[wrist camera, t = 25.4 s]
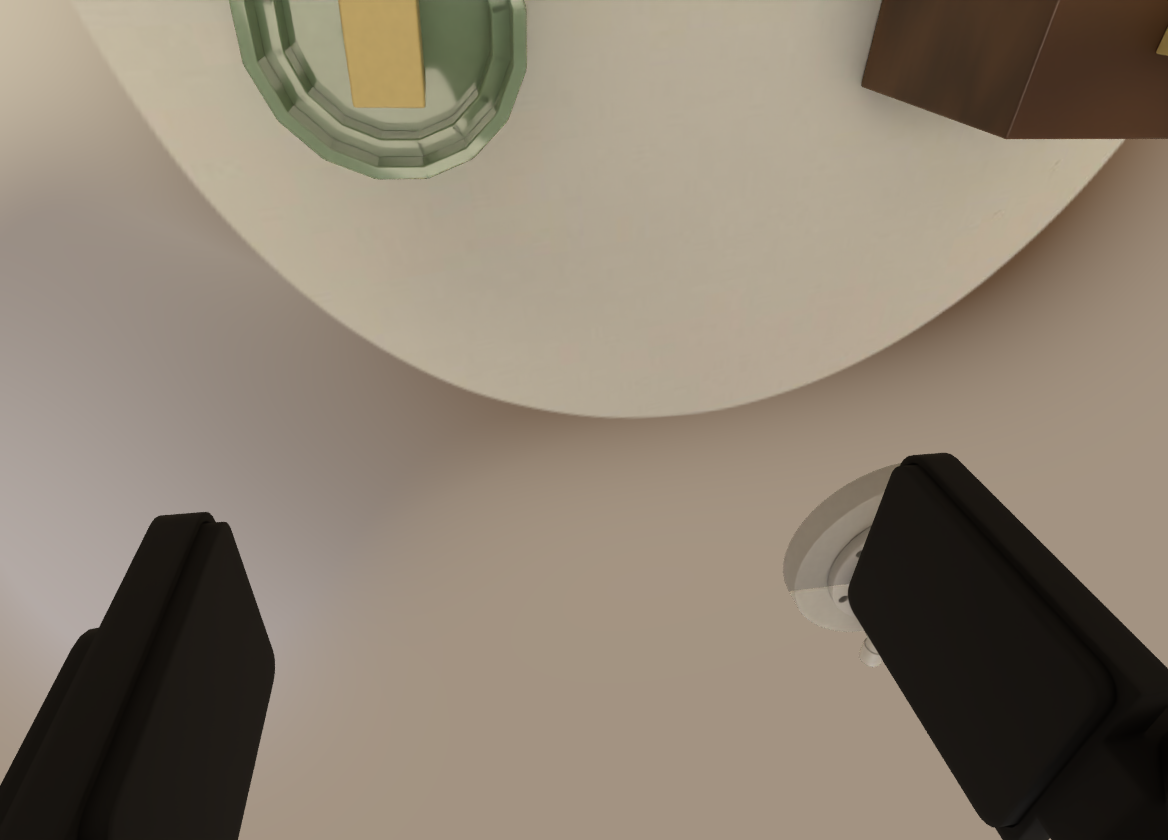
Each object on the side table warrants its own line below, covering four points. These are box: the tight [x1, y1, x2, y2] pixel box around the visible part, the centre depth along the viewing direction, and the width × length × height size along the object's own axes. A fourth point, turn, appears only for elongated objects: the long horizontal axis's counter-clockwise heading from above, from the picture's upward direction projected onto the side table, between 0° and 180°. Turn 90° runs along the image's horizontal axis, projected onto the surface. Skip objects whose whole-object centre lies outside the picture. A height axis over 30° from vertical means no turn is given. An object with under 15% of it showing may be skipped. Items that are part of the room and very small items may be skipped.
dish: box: [229, 0, 527, 179], centre depth 26 cm, size 10×10×4 cm
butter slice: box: [338, 0, 426, 108], centre depth 25 cm, size 4×2×4 cm, turn 178°
